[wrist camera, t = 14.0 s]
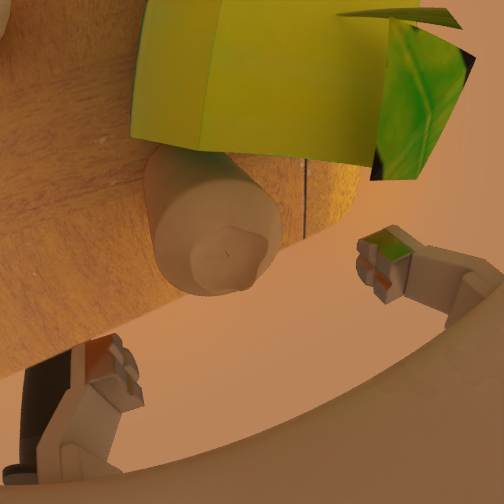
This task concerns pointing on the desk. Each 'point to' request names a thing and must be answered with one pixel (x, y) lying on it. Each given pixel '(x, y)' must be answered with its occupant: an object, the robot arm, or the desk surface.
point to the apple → (298, 80)
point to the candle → (208, 221)
